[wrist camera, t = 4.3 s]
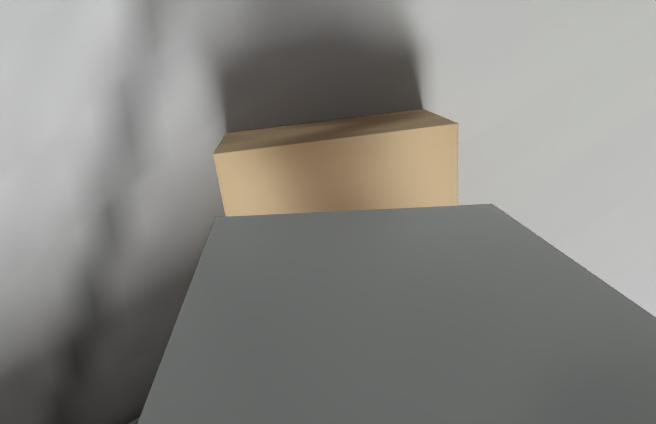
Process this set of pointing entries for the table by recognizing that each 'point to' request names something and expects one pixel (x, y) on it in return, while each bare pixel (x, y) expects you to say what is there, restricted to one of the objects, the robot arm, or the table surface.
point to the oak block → (340, 165)
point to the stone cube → (400, 326)
